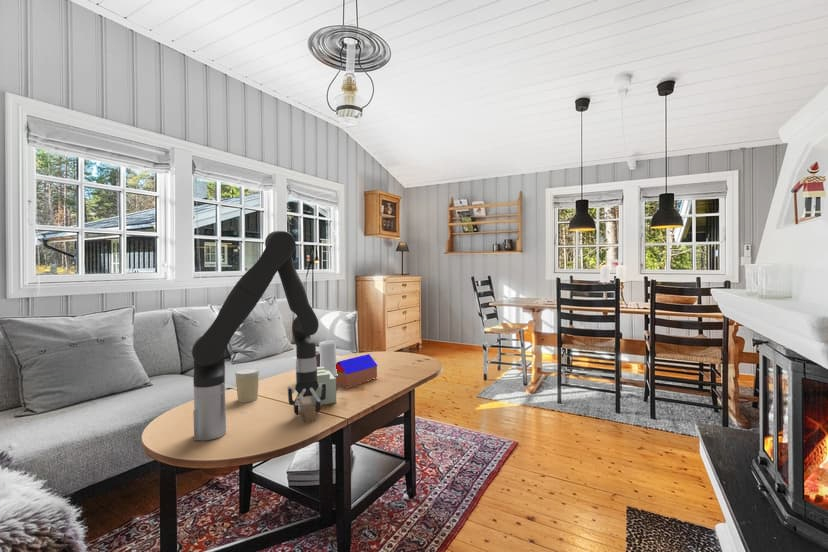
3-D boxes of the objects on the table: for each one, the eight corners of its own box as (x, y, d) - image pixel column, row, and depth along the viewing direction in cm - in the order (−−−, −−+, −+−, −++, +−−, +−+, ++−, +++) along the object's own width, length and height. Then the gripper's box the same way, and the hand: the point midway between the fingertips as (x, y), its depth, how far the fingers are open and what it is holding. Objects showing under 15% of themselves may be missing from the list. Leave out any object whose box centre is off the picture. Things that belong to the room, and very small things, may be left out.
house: (377, 378, 196) (377, 355, 195) (347, 388, 180) (346, 363, 180) (361, 375, 203) (361, 352, 203) (330, 384, 188) (330, 359, 188)
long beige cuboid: (305, 423, 140) (305, 409, 140) (300, 410, 153) (299, 397, 153) (315, 421, 142) (315, 407, 142) (309, 409, 155) (308, 396, 154)
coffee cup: (251, 394, 173) (251, 367, 173) (264, 398, 168) (263, 370, 168) (231, 400, 166) (230, 372, 165) (243, 404, 160) (243, 375, 160)
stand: (311, 406, 157) (310, 376, 157) (306, 396, 170) (305, 368, 169) (336, 402, 161) (335, 373, 161) (329, 392, 174) (328, 365, 174)
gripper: (287, 373, 141) (288, 419, 141) (327, 369, 147) (328, 413, 147) (285, 369, 148) (286, 412, 148) (323, 364, 153) (324, 406, 154)
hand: (307, 412), depth 147 cm, fingers open, 7 cm apart
